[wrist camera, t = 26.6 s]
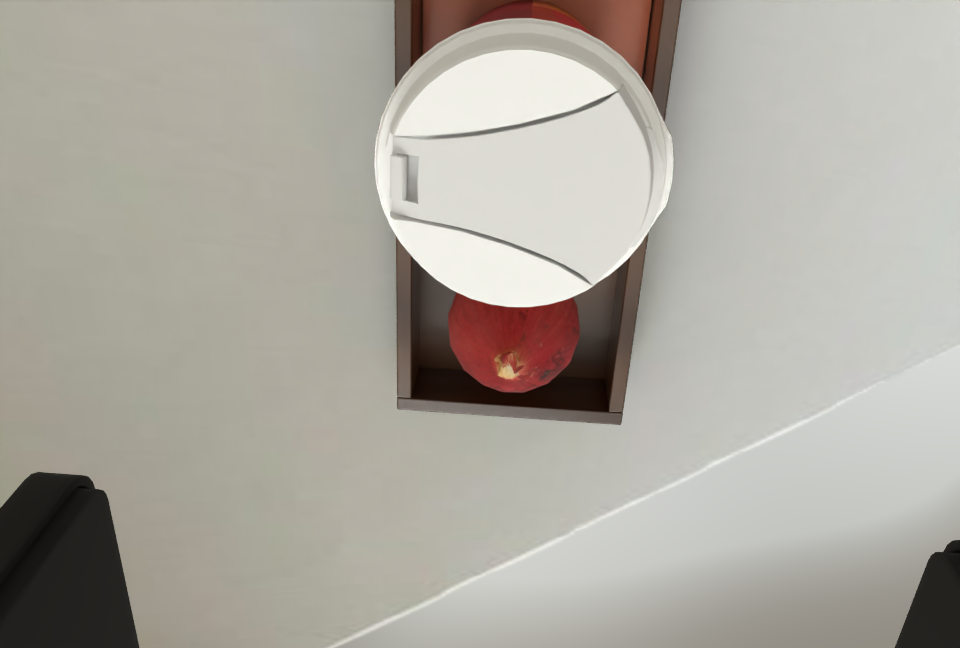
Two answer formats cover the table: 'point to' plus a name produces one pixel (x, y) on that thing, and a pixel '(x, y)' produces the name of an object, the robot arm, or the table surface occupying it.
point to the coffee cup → (522, 158)
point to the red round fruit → (513, 341)
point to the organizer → (601, 309)
